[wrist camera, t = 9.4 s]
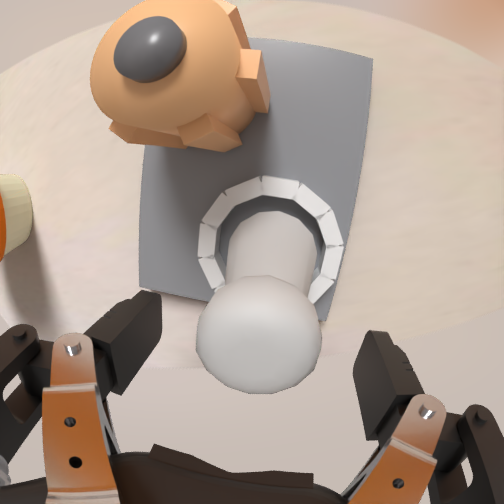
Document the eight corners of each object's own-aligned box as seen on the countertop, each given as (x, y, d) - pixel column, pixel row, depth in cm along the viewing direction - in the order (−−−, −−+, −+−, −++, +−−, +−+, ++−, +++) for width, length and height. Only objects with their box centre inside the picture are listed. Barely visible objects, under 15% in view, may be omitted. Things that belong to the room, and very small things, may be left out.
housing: (366, 66, 17) (436, -11, 5) (323, 309, 24) (346, 425, 12) (173, 47, 18) (87, -23, 6) (148, 278, 25) (64, 359, 13)
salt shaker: (328, 248, 20) (382, 366, 8) (271, 296, 22) (253, 435, 9) (275, 188, 19) (259, 231, 7) (217, 241, 21) (135, 344, 9)
